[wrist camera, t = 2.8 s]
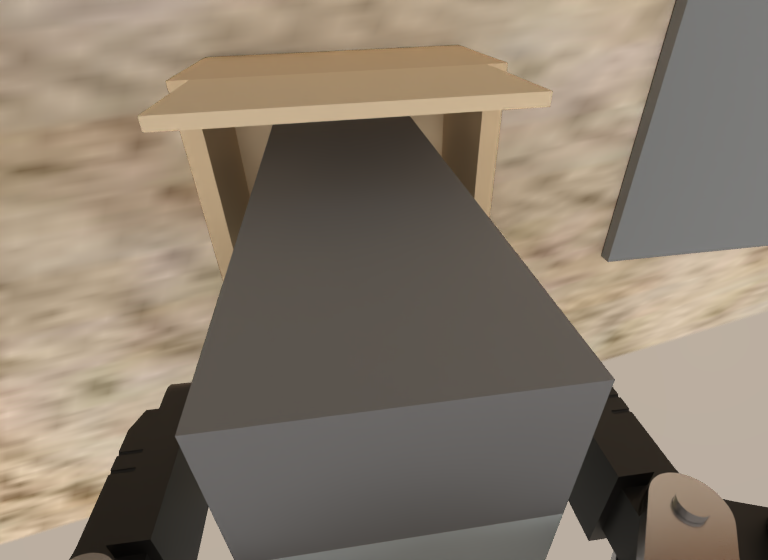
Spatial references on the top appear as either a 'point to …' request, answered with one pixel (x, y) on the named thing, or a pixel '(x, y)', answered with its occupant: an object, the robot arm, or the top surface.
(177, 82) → the carton
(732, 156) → the mat
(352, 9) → the top surface
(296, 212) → the box
